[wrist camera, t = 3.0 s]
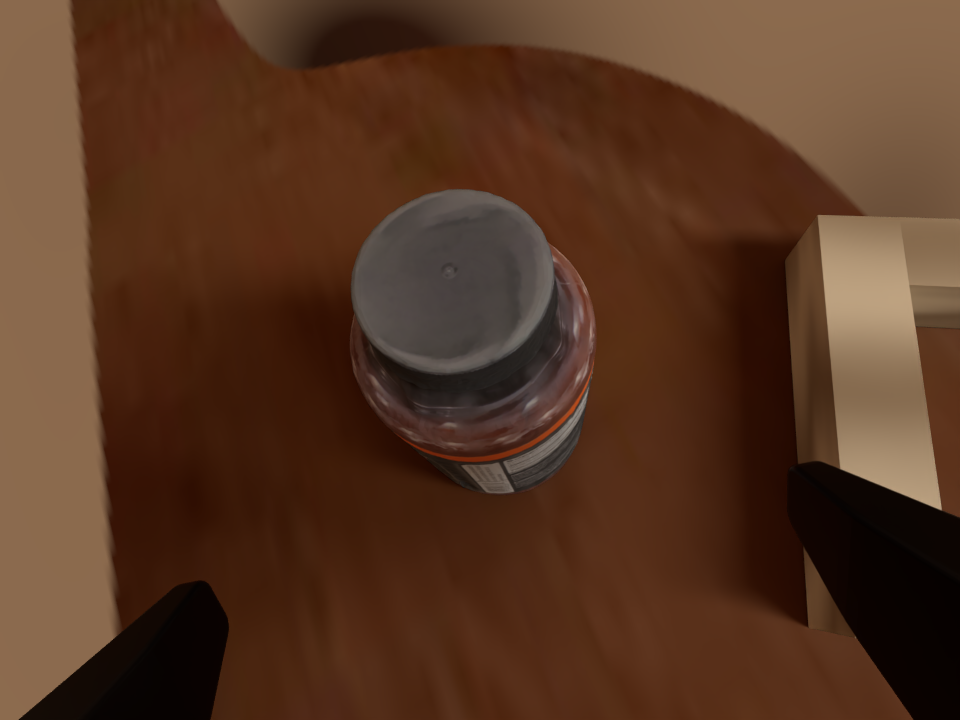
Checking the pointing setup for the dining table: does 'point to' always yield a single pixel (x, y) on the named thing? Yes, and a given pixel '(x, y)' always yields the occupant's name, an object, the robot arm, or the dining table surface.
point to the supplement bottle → (473, 339)
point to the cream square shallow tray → (867, 355)
